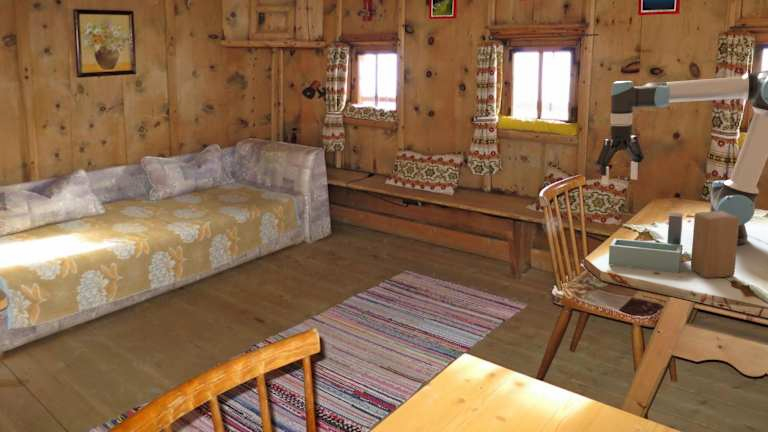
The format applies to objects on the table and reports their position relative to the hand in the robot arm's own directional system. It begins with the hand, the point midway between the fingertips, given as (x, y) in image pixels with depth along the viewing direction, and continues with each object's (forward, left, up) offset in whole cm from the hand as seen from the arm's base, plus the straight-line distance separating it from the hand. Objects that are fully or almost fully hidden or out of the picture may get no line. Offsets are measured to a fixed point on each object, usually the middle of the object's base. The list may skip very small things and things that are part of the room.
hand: (619, 181), depth 245 cm
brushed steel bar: (-21, +10, -24) cm, 34 cm away
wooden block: (-34, +21, -25) cm, 47 cm away
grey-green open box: (-13, +20, -24) cm, 34 cm away
